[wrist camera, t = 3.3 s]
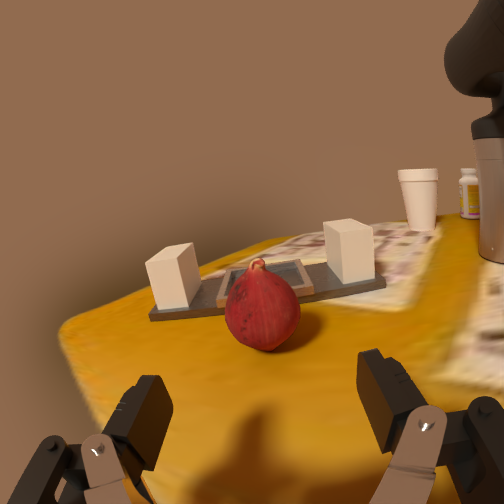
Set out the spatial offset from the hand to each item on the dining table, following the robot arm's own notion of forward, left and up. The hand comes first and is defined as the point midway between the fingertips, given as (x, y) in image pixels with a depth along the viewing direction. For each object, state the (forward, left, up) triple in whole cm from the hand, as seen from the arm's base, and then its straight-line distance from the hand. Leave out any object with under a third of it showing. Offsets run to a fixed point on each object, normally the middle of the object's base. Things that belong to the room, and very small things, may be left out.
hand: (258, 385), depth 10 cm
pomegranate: (-6, -9, -6) cm, 13 cm away
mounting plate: (-14, -20, -6) cm, 25 cm away
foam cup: (-55, -16, -6) cm, 57 cm away
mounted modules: (-14, -20, -6) cm, 25 cm away
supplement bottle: (-73, -7, -6) cm, 73 cm away
